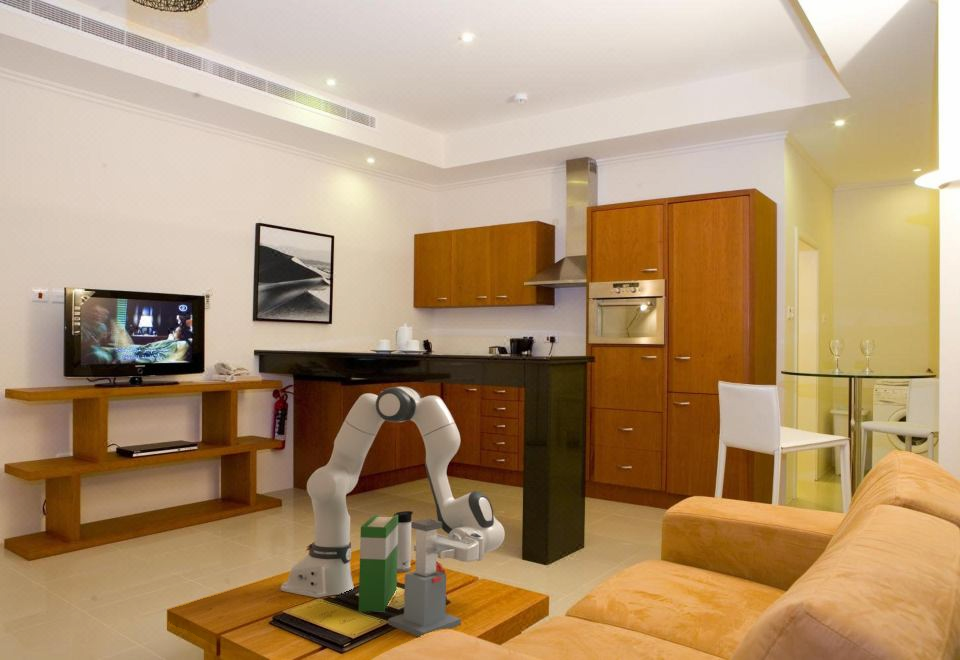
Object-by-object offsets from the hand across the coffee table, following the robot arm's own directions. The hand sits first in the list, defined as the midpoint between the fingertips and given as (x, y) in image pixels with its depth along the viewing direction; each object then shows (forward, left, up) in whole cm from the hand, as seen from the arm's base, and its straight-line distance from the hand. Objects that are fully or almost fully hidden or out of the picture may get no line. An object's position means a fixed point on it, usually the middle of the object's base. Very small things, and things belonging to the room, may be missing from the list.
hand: (427, 551), depth 189 cm
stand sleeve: (0, 0, -19) cm, 19 cm away
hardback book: (-19, +13, -20) cm, 30 cm away
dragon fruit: (-9, +33, -20) cm, 39 cm away
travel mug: (-24, +46, -20) cm, 55 cm away
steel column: (0, 0, -17) cm, 17 cm away
